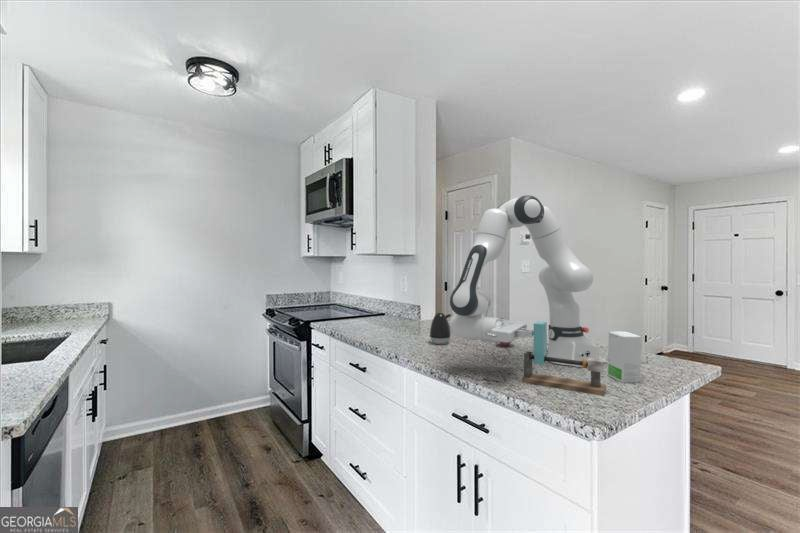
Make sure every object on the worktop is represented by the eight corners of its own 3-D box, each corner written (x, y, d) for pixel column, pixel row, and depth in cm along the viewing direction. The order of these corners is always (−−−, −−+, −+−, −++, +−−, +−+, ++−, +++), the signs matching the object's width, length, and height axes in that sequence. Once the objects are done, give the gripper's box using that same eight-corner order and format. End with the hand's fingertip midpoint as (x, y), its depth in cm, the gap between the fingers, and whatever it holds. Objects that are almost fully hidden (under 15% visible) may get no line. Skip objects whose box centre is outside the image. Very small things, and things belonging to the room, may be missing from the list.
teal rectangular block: (533, 364, 126) (533, 323, 125) (537, 361, 130) (537, 321, 130) (543, 365, 124) (543, 324, 124) (546, 362, 128) (546, 322, 128)
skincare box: (607, 375, 133) (606, 331, 133) (624, 374, 134) (624, 330, 133) (623, 383, 125) (623, 336, 125) (642, 382, 125) (642, 335, 125)
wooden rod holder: (522, 382, 127) (522, 353, 127) (527, 376, 133) (527, 349, 133) (603, 395, 114) (603, 363, 114) (605, 388, 120) (605, 358, 120)
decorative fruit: (515, 348, 175) (515, 326, 174) (497, 347, 176) (497, 326, 176) (513, 344, 184) (513, 323, 184) (496, 343, 185) (496, 323, 185)
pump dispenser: (452, 345, 182) (452, 314, 181) (430, 345, 182) (430, 314, 182) (449, 341, 192) (449, 311, 192) (429, 341, 192) (428, 311, 192)
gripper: (482, 325, 127) (525, 329, 119) (502, 317, 144) (540, 320, 136) (483, 344, 127) (525, 349, 119) (502, 333, 144) (540, 337, 137)
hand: (533, 333), depth 128 cm, fingers closed
